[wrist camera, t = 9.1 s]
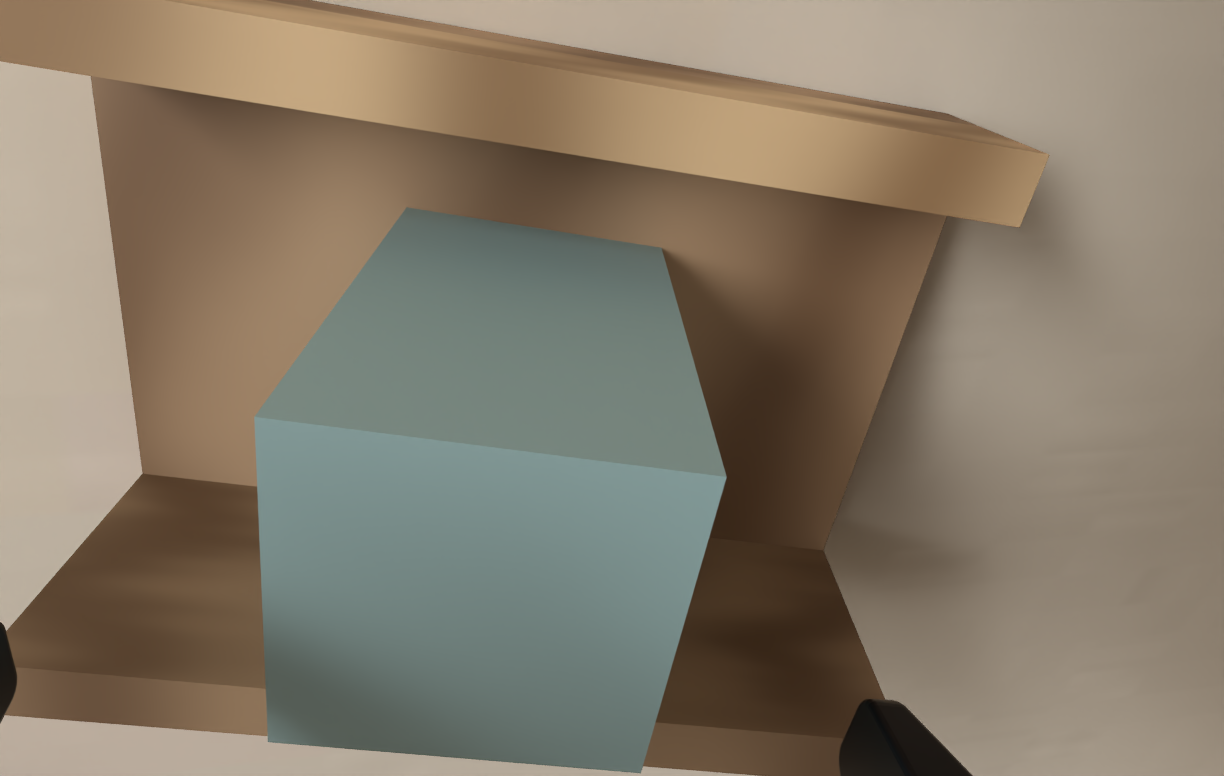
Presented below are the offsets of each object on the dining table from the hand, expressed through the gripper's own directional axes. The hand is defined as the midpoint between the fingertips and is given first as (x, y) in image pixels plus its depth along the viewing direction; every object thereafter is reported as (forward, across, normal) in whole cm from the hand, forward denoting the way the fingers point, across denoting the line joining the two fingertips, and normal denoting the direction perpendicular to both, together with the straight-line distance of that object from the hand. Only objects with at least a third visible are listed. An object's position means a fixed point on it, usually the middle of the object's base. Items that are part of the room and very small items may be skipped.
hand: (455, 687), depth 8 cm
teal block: (+9, 0, 0) cm, 9 cm away
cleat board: (+11, 0, 0) cm, 11 cm away
